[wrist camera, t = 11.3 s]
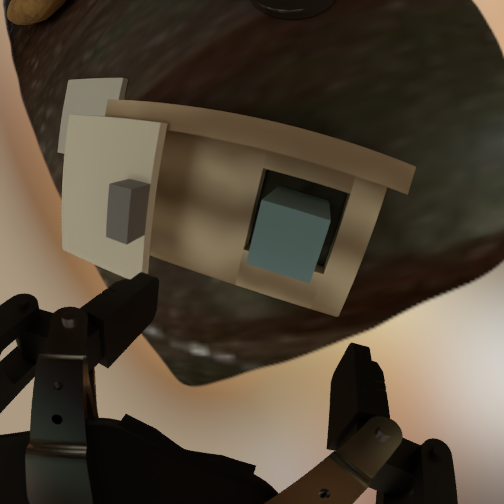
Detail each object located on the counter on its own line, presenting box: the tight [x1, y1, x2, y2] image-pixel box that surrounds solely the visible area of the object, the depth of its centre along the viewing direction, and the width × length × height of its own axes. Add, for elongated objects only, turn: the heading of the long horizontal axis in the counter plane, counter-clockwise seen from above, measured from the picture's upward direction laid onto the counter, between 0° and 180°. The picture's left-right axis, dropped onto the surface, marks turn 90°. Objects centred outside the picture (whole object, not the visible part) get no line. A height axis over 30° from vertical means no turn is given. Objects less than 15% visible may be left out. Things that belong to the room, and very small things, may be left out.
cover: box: [62, 115, 168, 279], centre depth 21 cm, size 13×10×3 cm
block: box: [246, 186, 331, 283], centre depth 25 cm, size 5×5×8 cm
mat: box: [58, 78, 128, 154], centre depth 29 cm, size 10×10×1 cm
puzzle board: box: [105, 99, 416, 317], centre depth 25 cm, size 16×24×8 cm, turn 77°
